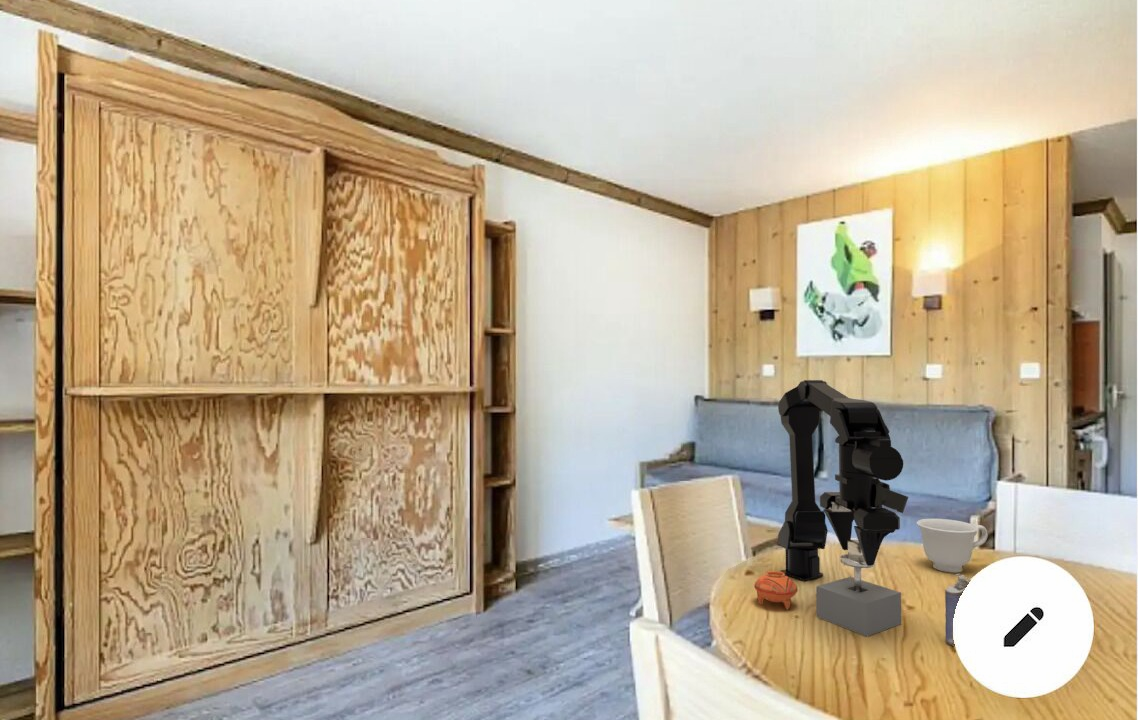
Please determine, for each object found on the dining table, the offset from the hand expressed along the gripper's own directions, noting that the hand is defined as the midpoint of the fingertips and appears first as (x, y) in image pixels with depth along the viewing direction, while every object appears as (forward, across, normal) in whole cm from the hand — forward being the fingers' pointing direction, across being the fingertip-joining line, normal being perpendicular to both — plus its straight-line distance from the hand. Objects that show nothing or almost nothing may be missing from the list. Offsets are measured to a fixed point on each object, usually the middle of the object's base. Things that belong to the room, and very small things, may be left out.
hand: (857, 557), depth 113 cm
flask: (+12, -8, -14) cm, 20 cm away
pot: (+12, +8, +12) cm, 19 cm away
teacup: (+12, +28, -35) cm, 47 cm away
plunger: (+8, 0, 0) cm, 8 cm away
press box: (+11, 0, 0) cm, 11 cm away
